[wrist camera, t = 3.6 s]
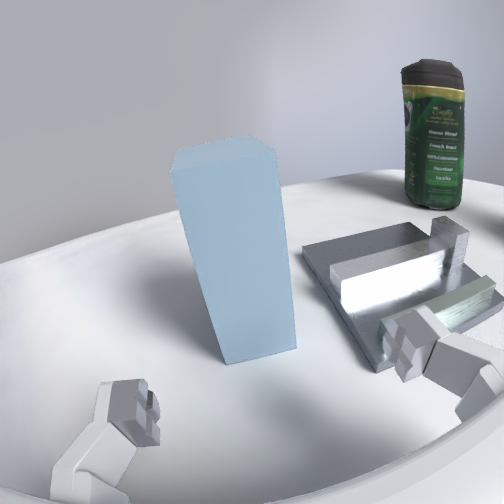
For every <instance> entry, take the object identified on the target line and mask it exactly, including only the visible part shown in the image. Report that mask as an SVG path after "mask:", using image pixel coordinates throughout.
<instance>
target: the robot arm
mask: <svg viewBox="0 0 504 504" xmlns="http://www.w3.org/2000/svg"><path fill="white" fill-rule="evenodd" d="M385 327H386V328H387V330H388V331H387V332H386V333H385V335H384V336H383V342H382V344H383V350H384V352H385V355H386V357H387V358H388V360H389V361H391V362H394V363H396V364H395V371H396V372H397V374H398V375H399V377H400V378H401V380H402V381H403V383H404V382H407V381H409V380H411V379H414V378H416V377H418V376H420V375H423V376H425V377H426V378H428V379H430V380H431V381H433V382H435V383H437V384H438V385H440V386H442V387H444V388H445V389H447V390H449V391H451V392H452V393H454V394H456V395H458V396H459V397H461V398H462V399H461V400H460V402H459V403H458V405H457V406H456V408H455V412H456V414H457V415H458V417H459V419H460V420H461V422H462V423H461V424H459V425H458V426H456V427H455V428H453V429H452V430H450V431H448V432H447V433H445V434H444V435H442V436H440V437H439V438H437V439H435V440H433V441H432V442H430V443H428V444H426V445H424V446H423V447H421V448H419V449H417V450H415V451H413V452H411V453H409V454H407V455H405V456H403V457H401V458H399V459H397V460H395V461H393V462H391V463H389V464H386V465H384V466H382V467H380V468H377V469H375V470H373V471H370V472H368V473H365V474H363V475H360V476H358V477H355V478H353V479H350V480H347V481H344V482H341V483H339V484H336V485H333V486H330V487H327V488H323V489H320V490H317V491H313V492H310V493H306V494H303V495H299V496H295V497H291V498H287V499H283V500H278V501H274V502H269V503H264V504H504V350H501V349H498V348H496V347H493V346H490V345H488V344H485V343H483V342H480V341H477V340H475V339H472V338H469V337H467V336H464V335H461V334H459V333H456V332H452V333H451V332H450V331H449V330H448V329H447V328H446V327H445V325H444V324H443V323H442V322H441V321H440V320H439V319H438V318H437V317H436V315H435V314H434V313H433V312H432V311H431V310H430V309H429V308H428V307H427V306H425V305H422V306H420V307H417V308H415V309H412V310H409V311H406V312H404V313H401V314H399V315H396V316H394V317H391V318H389V319H388V320H387V321H386V326H385ZM159 418H160V408H159V403H158V400H157V398H156V396H155V394H154V393H153V392H151V391H149V390H148V384H147V383H146V381H145V380H144V379H134V380H123V381H111V382H102V383H101V384H100V385H99V389H98V394H97V399H96V405H95V411H94V417H93V423H88V425H87V426H86V427H85V428H84V429H83V431H82V432H81V433H80V434H79V436H78V437H77V438H76V439H75V440H74V442H73V443H72V444H71V445H70V447H69V448H68V449H67V450H66V452H65V453H64V454H63V455H62V456H61V458H60V459H59V460H58V461H57V463H56V464H55V465H54V466H53V471H52V479H51V487H50V496H49V500H46V499H42V498H38V497H34V496H31V495H27V494H24V493H21V492H18V491H14V490H11V489H8V488H6V487H3V486H0V504H130V503H129V497H128V496H127V495H126V494H124V493H123V492H121V491H119V490H117V489H115V488H116V486H117V484H118V483H119V481H120V479H121V477H122V475H123V474H124V472H125V470H126V468H127V467H128V465H129V463H130V461H131V460H132V458H133V456H134V454H135V453H136V451H137V449H138V448H137V447H148V446H159V445H160V428H159V427H158V426H157V425H156V422H157V421H158V420H159Z"/></svg>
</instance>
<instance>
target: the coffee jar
mask: <svg viewBox="0 0 504 504" xmlns="http://www.w3.org/2000/svg"><path fill="white" fill-rule="evenodd" d="M401 74H402V84H403V85H402V89H403V99H404V113H405V152H406V153H405V191H406V193H407V195H408V197H409V198H410V200H411V201H412V202H413V203H415V204H420V205H424V206H427V207H430V208H432V209H447V208H452V207H457V206H459V204H460V202H461V195H462V184H463V166H464V102H465V101H464V100H465V98H464V97H465V92H464V84H463V77H462V73H461V71H460V70H459V69H457V68H456V67H455V66H454V65H453V64H452V63H450V62H446V61H440V60H432V59H421V60H420V61H419V62H416V63H414V64H411V65H409V66H406V67H404V68H402V71H401Z"/></svg>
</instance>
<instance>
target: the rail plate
mask: <svg viewBox="0 0 504 504" xmlns="http://www.w3.org/2000/svg"><path fill="white" fill-rule="evenodd" d="M468 237H469V231H468V230H466V229H465V228H463V227H462V226H460V225H459V224H457V223H456V222H454V221H453V220H451V219H449V218H448V217H446V216H442V217H438V218H434V219H432V226H431V234H430V236H428V235H427V234H426V233H424V232H423V231H421V230H420V229H419V228H417V227H416V226H414V225H413V224H412V223H410V222H406V223H402V224H397V225H393V226H389V227H385V228H380V229H376V230H372V231H367V232H363V233H359V234H354V235H350V236H346V237H341V238H337V239H333V240H328V241H324V242H320V243H315V244H311V245H307V246H302V252H303V257H304V259H305V260H306V262H307V263H308V265H309V266H310V268H311V269H312V271H313V272H314V274H315V275H316V277H317V279H318V280H319V282H320V283H321V285H322V286H323V288H324V289H325V291H326V293H327V294H328V296H329V297H330V299H331V300H332V302H333V304H334V305H335V307H336V308H337V310H338V312H339V313H340V315H341V316H342V318H343V319H344V321H345V323H346V324H347V326H348V328H349V329H350V331H351V332H352V334H353V336H354V337H355V339H356V341H357V342H358V344H359V345H360V347H361V349H362V350H363V352H364V354H365V355H366V357H367V359H368V360H369V362H370V364H371V365H372V367H373V369H374V370H375V372H376V373H378V372H381V371H383V370H386V369H388V368H391V367H393V366H395V364H396V363H394V362H391V361H389V360H388V358H387V357H386V355H385V352H384V350H383V344H382V342H383V336H384V335H385V333H386V332H387V331H388V330H387V328H386V327H385V326H386V321H387V320H388V319H389V318H391V317H394V316H396V315H399V314H401V313H404V312H406V311H409V310H412V309H415V308H417V307H420V306H422V305H425V306H427V307H428V308H429V309H430V310H431V311H432V312H433V313H434V314H435V315H436V317H437V318H438V319H439V320H440V321H441V322H442V323H443V324H444V325H445V327H446V328H447V329H448V330H449V331H450V332H451V333H452V332H456V333H459V334H461V333H463V332H465V331H467V330H469V329H470V328H472V327H474V326H476V325H477V324H479V323H481V322H483V321H484V320H486V319H488V318H489V317H491V316H492V315H494V314H496V313H497V312H499V311H500V310H502V308H503V306H504V297H503V296H502V295H501V294H500V293H499V292H497V291H496V290H495V286H496V283H495V282H494V281H493V280H492V279H490V278H489V277H488V276H487V275H485V276H483V277H480V276H479V275H478V274H477V273H475V272H474V271H473V270H472V269H471V268H469V267H468V266H467V265H466V264H465V263H463V261H464V256H465V252H466V247H467V242H468Z"/></svg>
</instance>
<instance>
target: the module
mask: <svg viewBox="0 0 504 504" xmlns="http://www.w3.org/2000/svg"><path fill="white" fill-rule="evenodd" d="M169 173H170V177H171V181H172V185H173V189H174V193H175V197H176V201H177V205H178V209H179V212H180V216H181V220H182V224H183V227H184V231H185V235H186V238H187V242H188V245H189V249H190V252H191V256H192V259H193V263H194V266H195V269H196V273H197V276H198V279H199V283H200V286H201V289H202V293H203V296H204V299H205V302H206V305H207V309H208V312H209V315H210V318H211V321H212V324H213V327H214V330H215V333H216V336H217V339H218V342H219V345H220V348H221V351H222V354H223V357H224V360H225V363H226V365H229V364H234V363H238V362H243V361H247V360H252V359H256V358H260V357H264V356H268V355H272V354H276V353H280V352H284V351H288V350H292V349H295V348H297V347H296V334H295V322H294V310H293V299H292V288H291V278H290V268H289V258H288V249H287V239H286V230H285V222H284V213H283V204H282V196H281V188H280V180H279V172H278V165H277V157H276V151H275V150H274V149H273V148H271V147H269V146H268V145H266V144H264V143H263V142H261V141H259V140H258V139H256V138H254V137H253V136H251V135H244V136H238V137H232V138H227V139H222V140H217V141H212V142H207V143H203V144H198V145H194V146H189V147H185V148H181V149H178V151H177V153H176V156H175V158H174V161H173V164H172V166H171V169H170V172H169Z"/></svg>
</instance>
